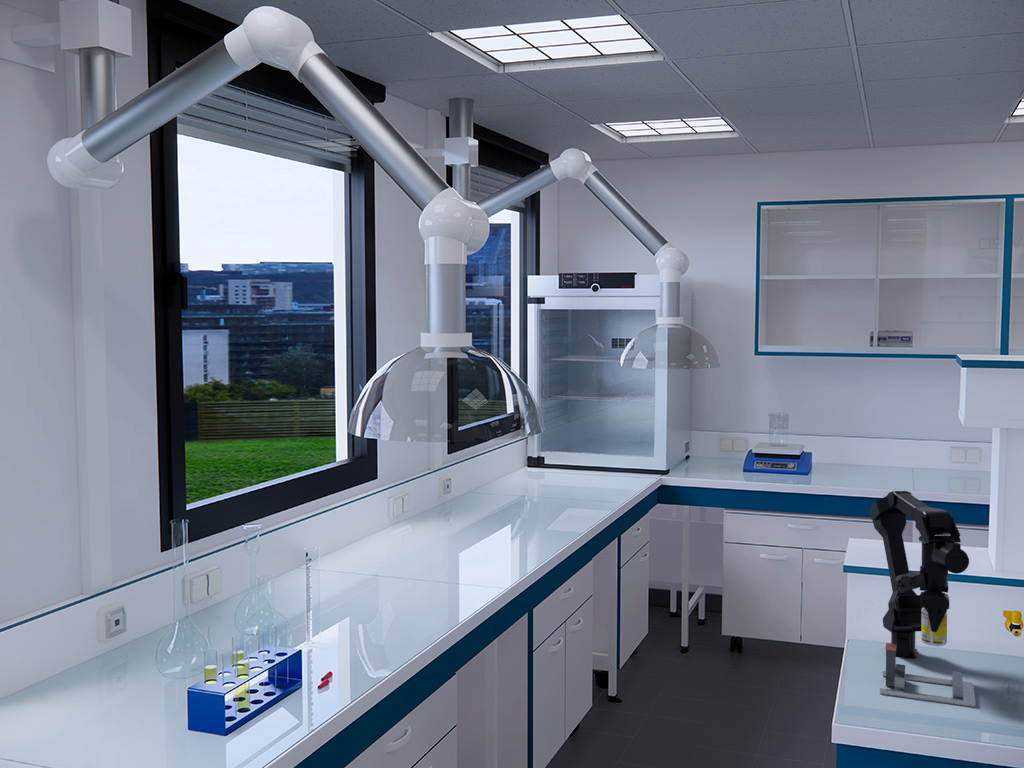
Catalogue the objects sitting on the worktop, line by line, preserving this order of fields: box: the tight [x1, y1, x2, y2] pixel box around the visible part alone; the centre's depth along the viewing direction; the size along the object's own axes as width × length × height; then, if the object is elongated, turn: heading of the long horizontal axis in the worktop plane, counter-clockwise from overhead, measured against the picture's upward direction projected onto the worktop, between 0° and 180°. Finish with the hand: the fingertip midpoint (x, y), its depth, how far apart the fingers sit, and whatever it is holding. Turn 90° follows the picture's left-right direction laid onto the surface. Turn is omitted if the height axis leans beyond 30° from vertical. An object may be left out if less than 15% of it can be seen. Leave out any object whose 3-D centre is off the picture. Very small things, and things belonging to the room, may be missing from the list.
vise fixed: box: [879, 670, 976, 708], centre depth 212 cm, size 13×19×4 cm
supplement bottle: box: [920, 608, 948, 647], centre depth 221 cm, size 6×6×10 cm
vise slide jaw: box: [885, 642, 906, 691], centre depth 215 cm, size 9×4×9 cm, turn 156°
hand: (934, 628), depth 221 cm, fingers closed on supplement bottle, 5 cm apart
